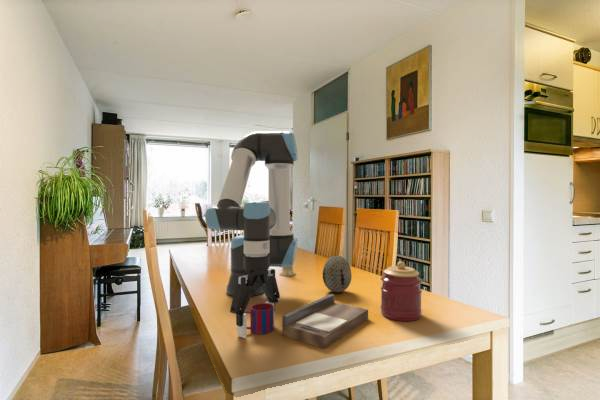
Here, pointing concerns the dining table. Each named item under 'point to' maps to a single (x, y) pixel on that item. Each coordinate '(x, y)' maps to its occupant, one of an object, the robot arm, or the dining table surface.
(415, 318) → the canister
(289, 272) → the hand bell
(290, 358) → the dining table surface
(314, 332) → the memo pad holder
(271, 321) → the mug
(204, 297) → the dining table surface
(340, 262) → the decorative egg
